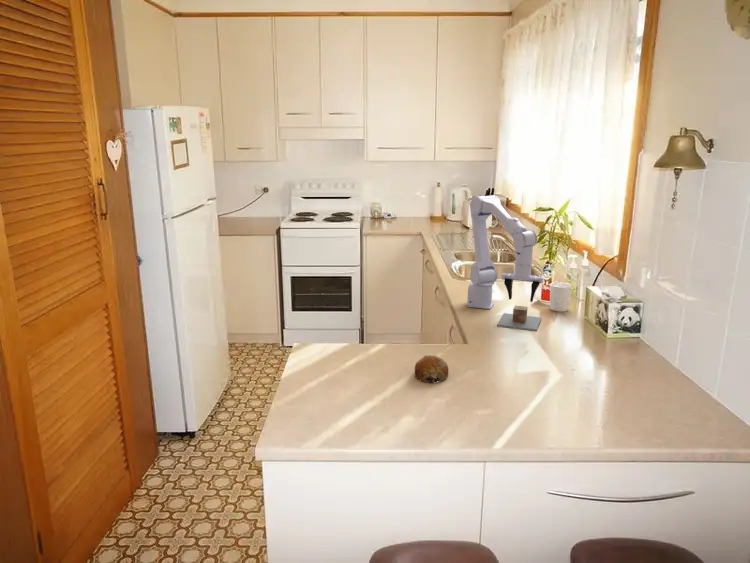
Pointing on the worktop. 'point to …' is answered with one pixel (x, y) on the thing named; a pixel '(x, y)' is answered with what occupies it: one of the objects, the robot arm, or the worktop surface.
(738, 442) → the worktop surface
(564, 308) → the white cup
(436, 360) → the brown rounded dome
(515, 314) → the walnut block
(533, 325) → the coaster mat
